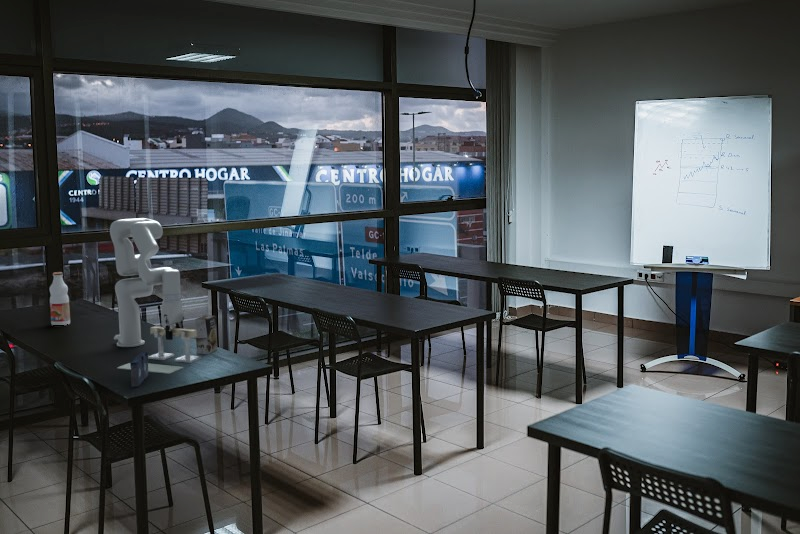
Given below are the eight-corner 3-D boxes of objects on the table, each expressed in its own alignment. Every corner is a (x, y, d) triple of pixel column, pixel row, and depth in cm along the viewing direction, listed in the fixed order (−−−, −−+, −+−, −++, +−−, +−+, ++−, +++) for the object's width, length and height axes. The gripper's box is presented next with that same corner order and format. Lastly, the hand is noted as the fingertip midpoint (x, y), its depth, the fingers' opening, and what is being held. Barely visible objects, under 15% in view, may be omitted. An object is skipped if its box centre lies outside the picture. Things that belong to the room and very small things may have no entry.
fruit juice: (72, 324, 426) (69, 272, 423) (54, 327, 421) (51, 274, 417) (67, 321, 434) (64, 270, 430) (49, 324, 428) (45, 272, 424)
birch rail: (150, 334, 354) (150, 327, 354) (154, 332, 357) (154, 326, 357) (192, 337, 347) (192, 331, 347) (196, 336, 350) (196, 329, 349)
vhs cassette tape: (142, 374, 328) (141, 351, 326) (150, 374, 328) (148, 351, 326) (130, 387, 309) (128, 362, 308) (137, 387, 310) (136, 362, 308)
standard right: (174, 361, 349) (173, 332, 347) (185, 357, 356) (184, 328, 354) (190, 362, 346) (189, 333, 344) (201, 358, 353) (199, 329, 352)
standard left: (148, 358, 353) (146, 329, 352) (159, 354, 361) (157, 326, 359) (163, 360, 351) (161, 331, 349) (174, 356, 358) (173, 327, 356)
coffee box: (209, 354, 361) (208, 319, 359) (196, 353, 362) (194, 318, 360) (217, 349, 370) (216, 315, 368) (204, 348, 371) (203, 314, 369)
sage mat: (117, 368, 337) (117, 367, 337) (132, 362, 347) (132, 361, 347) (169, 373, 329) (169, 372, 329) (183, 367, 338) (183, 366, 338)
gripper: (176, 293, 359) (178, 333, 361) (152, 300, 343) (154, 341, 345) (190, 294, 356) (192, 334, 359) (167, 301, 340) (168, 342, 343)
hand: (173, 337), depth 352 cm, fingers open, 5 cm apart
